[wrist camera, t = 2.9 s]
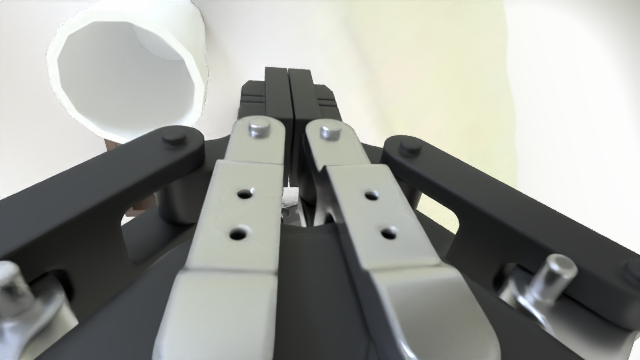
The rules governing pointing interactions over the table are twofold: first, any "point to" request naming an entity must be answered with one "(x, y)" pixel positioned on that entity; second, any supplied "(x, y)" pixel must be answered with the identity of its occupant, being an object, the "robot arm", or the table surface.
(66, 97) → the foam cup
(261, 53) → the table surface
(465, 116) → the table surface
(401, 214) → the robot arm
